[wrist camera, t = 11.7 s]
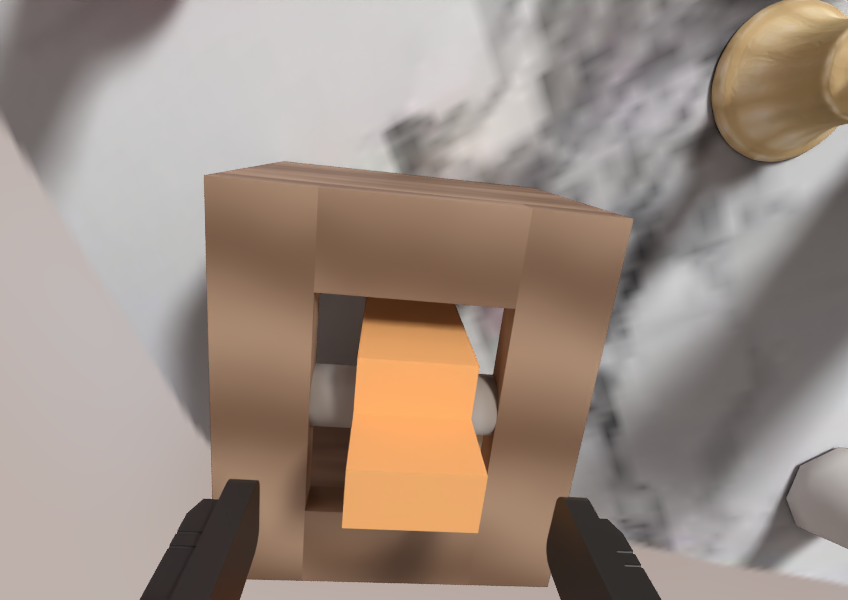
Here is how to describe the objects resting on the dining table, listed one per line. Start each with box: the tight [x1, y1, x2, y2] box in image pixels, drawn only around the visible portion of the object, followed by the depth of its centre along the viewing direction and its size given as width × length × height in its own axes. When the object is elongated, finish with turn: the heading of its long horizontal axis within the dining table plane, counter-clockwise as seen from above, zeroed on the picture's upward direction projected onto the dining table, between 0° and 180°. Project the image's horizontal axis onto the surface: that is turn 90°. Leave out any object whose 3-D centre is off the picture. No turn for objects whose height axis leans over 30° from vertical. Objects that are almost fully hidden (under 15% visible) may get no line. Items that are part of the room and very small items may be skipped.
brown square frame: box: [204, 161, 633, 587], centre depth 24 cm, size 16×14×12 cm
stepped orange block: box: [342, 297, 488, 533], centre depth 20 cm, size 6×4×14 cm, turn 174°
